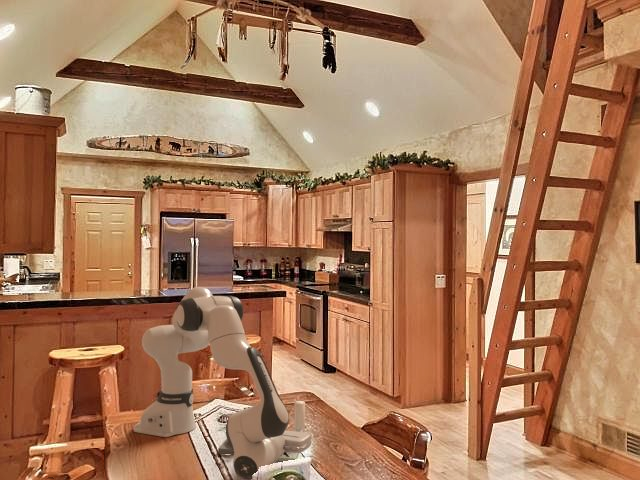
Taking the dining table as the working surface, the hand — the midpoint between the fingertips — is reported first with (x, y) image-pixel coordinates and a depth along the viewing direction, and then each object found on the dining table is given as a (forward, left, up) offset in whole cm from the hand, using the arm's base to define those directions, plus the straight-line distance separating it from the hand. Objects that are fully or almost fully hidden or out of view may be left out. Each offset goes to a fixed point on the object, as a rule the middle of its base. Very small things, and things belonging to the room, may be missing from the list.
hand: (288, 429), depth 160 cm
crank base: (-16, +6, -9) cm, 19 cm away
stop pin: (+2, +10, -8) cm, 13 cm away
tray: (-1, 0, -9) cm, 9 cm away
